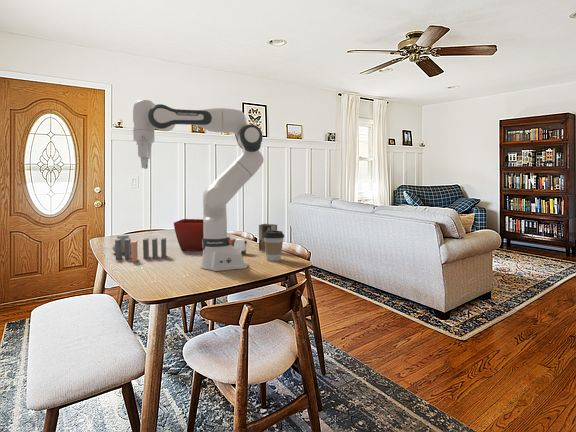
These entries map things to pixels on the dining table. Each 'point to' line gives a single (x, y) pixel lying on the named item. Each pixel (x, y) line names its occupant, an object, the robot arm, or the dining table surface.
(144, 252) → the domino
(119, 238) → the air freshener
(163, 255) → the domino
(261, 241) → the coffee box
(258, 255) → the dining table surface
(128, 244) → the domino
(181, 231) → the plant pot
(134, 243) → the domino
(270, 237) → the coffee cup
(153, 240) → the domino
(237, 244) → the giant panda
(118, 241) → the domino
